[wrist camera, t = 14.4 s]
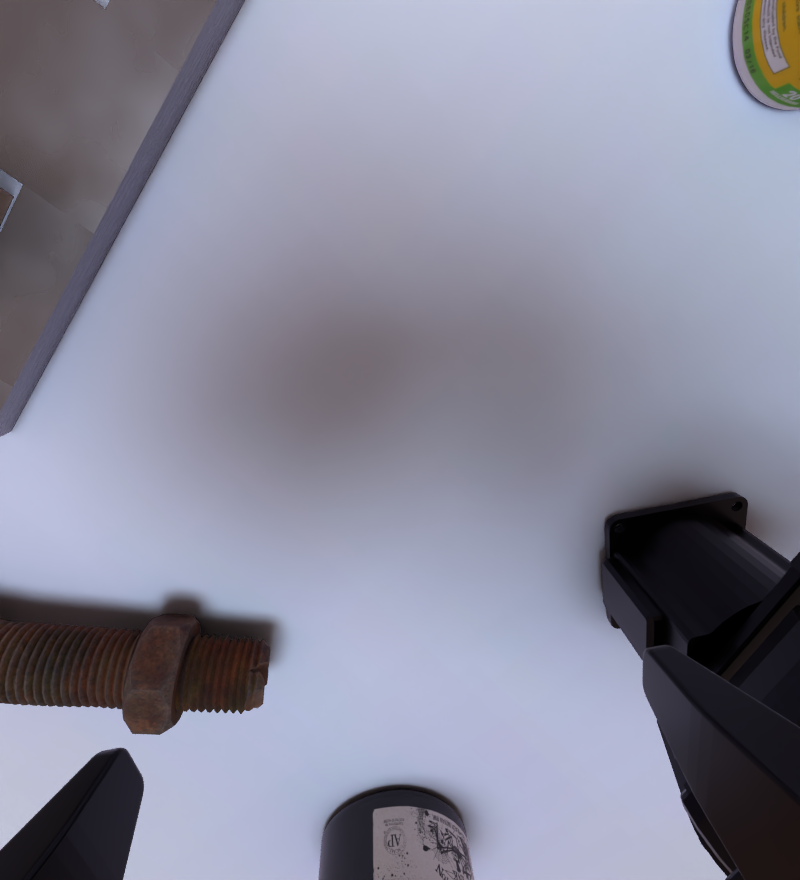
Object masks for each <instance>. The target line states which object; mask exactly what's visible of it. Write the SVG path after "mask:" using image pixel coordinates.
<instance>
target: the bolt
mask: <svg viewBox="0 0 800 880" xmlns="http://www.w3.org/2000/svg"><path fill="white" fill-rule="evenodd" d="M269 656H270V647H269V646H268V645H267V644H266V643H265V640H264V639H263V640H262V641H261V642H260V643H259V641H258V639H257V638H256V639H255V640H254V641H252V638H251V637H250V638H249V639H247V640H245V638H244V636H243V637H242V638H241V639H240V640H238V638H237V636H235V637H234V638H233V639H232V640H231V638H230V636H227V637H226V638H225V639H223V636H222V635H221V636H220V637H218V638H217V639H216V636H215V635H212V636H211V637H210V638H209V637H208V635H207V634H206V635H205V636H204V637H201V635H200V624H199V622H198V621H197V620H196V618H195V617H194V616H191V615H178V614H165V615H161V616H158V617H156V618H153V619H152V620H151V621H150V622H149V624H148V625H147V626H146V628H145V629H144V631H142V632H141V631H140V630H139V629H137V630H135V631H134V632H133V630H132V629H128V630H127V631H125V629H123V628H121V629H119V630H117V629H116V628H112V629H109V628H108V627H106V628H103V629H102V627H95V628H94V627H92V626H88V627H85V626H79V627H78V626H76V625H72V626H70V625H67V624H65V625H61V624H55V625H53V624H51V623H48V624H45V623H38V624H37V623H35V622H31V623H28V622H19V621H14V622H12V621H5V620H4V619H2V618H0V703H5V704H14V705H17V704H21V705H28V704H30V705H33V706H37V705H41V706H46V705H48V706H55V705H57V706H58V707H63V706H68V707H71V706H76V707H81V706H85V707H90V706H93V707H98V706H100V707H102V708H106V707H107V706H108V707H109V708H111V709H113V708H115V707H117V708H118V709H122V710H123V719H124V721H125V722H126V724H127V726H128V727H129V729H130V731H131V732H132V734H156V735H160V734H162V733H163V732H165V731H167V730H168V729H170V728H172V727H173V726H174V725H176V723H177V722H178V721H179V719H180V717H181V715H182V713H183V711H186V712H187V711H188V710H189V709H190V710H191V711H193V712H195V711H196V710H197V709H198V710H199V711H200V712H203V711H204V710H205V709H206V710H207V712H211V711H212V710H213V709H214V710H215V711H216V712H217V713H218V712H219V711H220V710H221V709H222V710H223V711H224V713H227V711H228V710H229V709H230V710H231V712H232V713H233V714H234V713H235V711H236V710H238V711H239V713H240V714H242V712H243V711H244V710H246V711H250V710H251V709H253V708H258V707H260V706H261V705H262V704H263V698H264V687H265V685H266V684H267V679H268V667H269Z"/></svg>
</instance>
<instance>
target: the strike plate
mask: <svg viewBox="0 0 800 880" xmlns="http://www.w3.org/2000/svg"><path fill="white" fill-rule="evenodd" d="M243 2H244V0H110V1H109V3H108V5H107V8H106V10H105V9H104V8H103V7H101V6H100V5H99V4H98V3H97V2H95V1H94V0H0V169H2V170H3V171H5V172H6V173H7V174H9V175H10V176H12V177H13V178H15V179H16V180H17V181H19V182H20V183H22V184H23V186H22V188H21V190H20V192H19V194H18V197H17V199H16V201H15V203H14V205H13V207H12V209H11V211H10V214H9V216H8V218H7V220H6V222H5V224H4V226H3V228H2V231H1V233H0V437H1V436H3V435H5V434H7V433H9V432H11V430H12V428H13V426H14V424H15V422H16V421H17V419H18V417H19V415H20V413H21V411H22V410H23V408H24V406H25V404H26V402H27V400H28V399H29V397H30V395H31V393H32V391H33V389H34V387H35V386H36V384H37V382H38V380H39V378H40V376H41V375H42V373H43V371H44V369H45V367H46V365H47V363H48V362H49V360H50V358H51V356H52V354H53V352H54V351H55V349H56V347H57V345H58V343H59V341H60V340H61V338H62V336H63V334H64V332H65V330H66V328H67V327H68V325H69V323H70V321H71V319H72V317H73V316H74V314H75V312H76V310H77V308H78V306H79V304H80V303H81V301H82V299H83V297H84V295H85V293H86V292H87V290H88V288H89V286H90V284H91V282H92V281H93V279H94V277H95V275H96V273H97V271H98V269H99V268H100V266H101V264H102V262H103V260H104V258H105V257H106V255H107V253H108V251H109V249H110V247H111V245H112V244H113V242H114V240H115V238H116V236H117V234H118V233H119V231H120V229H121V227H122V225H123V223H124V221H125V220H126V218H127V216H128V214H129V212H130V210H131V209H132V207H133V205H134V203H135V201H136V199H137V198H138V196H139V194H140V192H141V190H142V188H143V186H144V185H145V183H146V181H147V179H148V177H149V175H150V174H151V172H152V170H153V168H154V166H155V164H156V162H157V161H158V159H159V157H160V155H161V153H162V151H163V150H164V148H165V146H166V144H167V142H168V140H169V139H170V137H171V135H172V133H173V131H174V129H175V127H176V126H177V124H178V122H179V120H180V118H181V116H182V115H183V113H184V111H185V109H186V107H187V105H188V103H189V102H190V100H191V98H192V96H193V94H194V92H195V91H196V89H197V87H198V85H199V83H200V81H201V80H202V78H203V76H204V74H205V72H206V70H207V68H208V67H209V65H210V63H211V61H212V59H213V57H214V56H215V54H216V52H217V50H218V48H219V46H220V44H221V43H222V41H223V39H224V37H225V35H226V33H227V32H228V30H229V28H230V26H231V24H232V22H233V21H234V19H235V17H236V15H237V13H238V11H239V9H240V8H241V6H242V4H243Z"/></svg>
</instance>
